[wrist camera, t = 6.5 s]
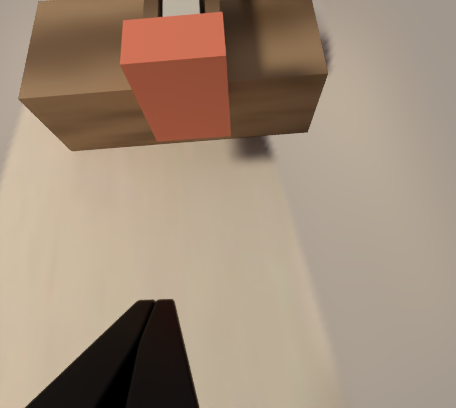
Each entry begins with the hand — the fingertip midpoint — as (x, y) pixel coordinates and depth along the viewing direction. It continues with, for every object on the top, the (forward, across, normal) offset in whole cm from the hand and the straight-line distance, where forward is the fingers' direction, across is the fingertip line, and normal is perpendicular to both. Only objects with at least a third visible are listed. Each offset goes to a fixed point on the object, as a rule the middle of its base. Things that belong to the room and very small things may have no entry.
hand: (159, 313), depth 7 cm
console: (+21, +1, -3) cm, 21 cm away
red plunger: (+17, +1, -6) cm, 18 cm away
